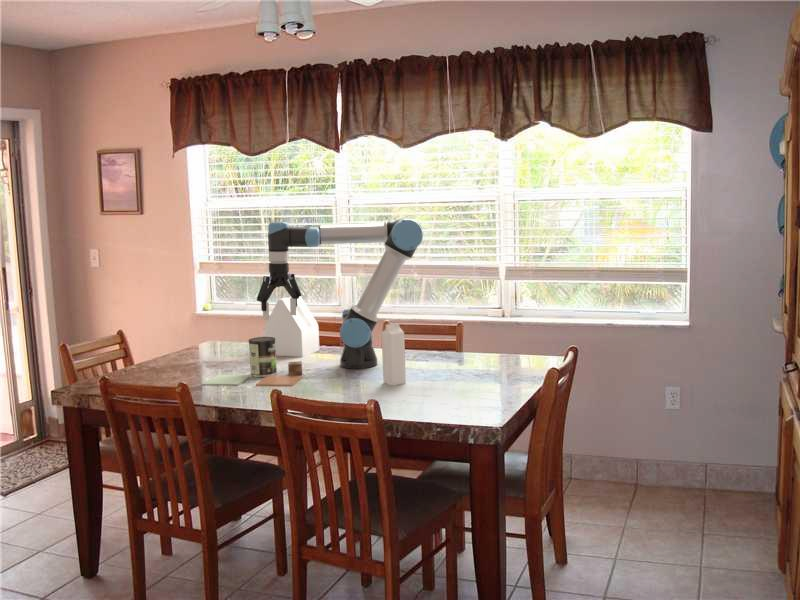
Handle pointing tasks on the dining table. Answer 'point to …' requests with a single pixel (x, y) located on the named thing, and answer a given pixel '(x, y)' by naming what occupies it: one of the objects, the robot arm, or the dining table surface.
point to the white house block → (292, 329)
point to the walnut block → (295, 368)
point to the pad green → (227, 380)
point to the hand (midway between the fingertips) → (279, 317)
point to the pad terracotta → (279, 380)
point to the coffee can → (262, 356)
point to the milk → (393, 355)
